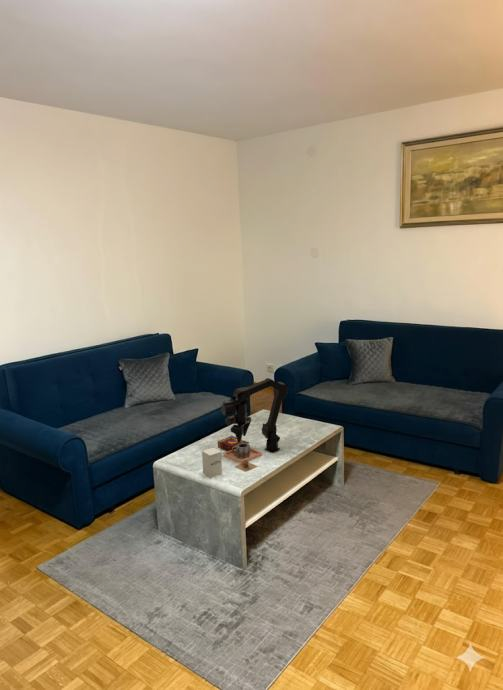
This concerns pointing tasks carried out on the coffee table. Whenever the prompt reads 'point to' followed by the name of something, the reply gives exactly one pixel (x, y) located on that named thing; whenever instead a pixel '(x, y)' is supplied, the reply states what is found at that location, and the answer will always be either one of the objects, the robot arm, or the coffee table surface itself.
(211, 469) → the supplement box
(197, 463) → the coffee table surface
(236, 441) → the decorative book
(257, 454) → the tray
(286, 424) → the coffee table surface
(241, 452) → the grey tankard
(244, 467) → the square plate with peg
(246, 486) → the coffee table surface
